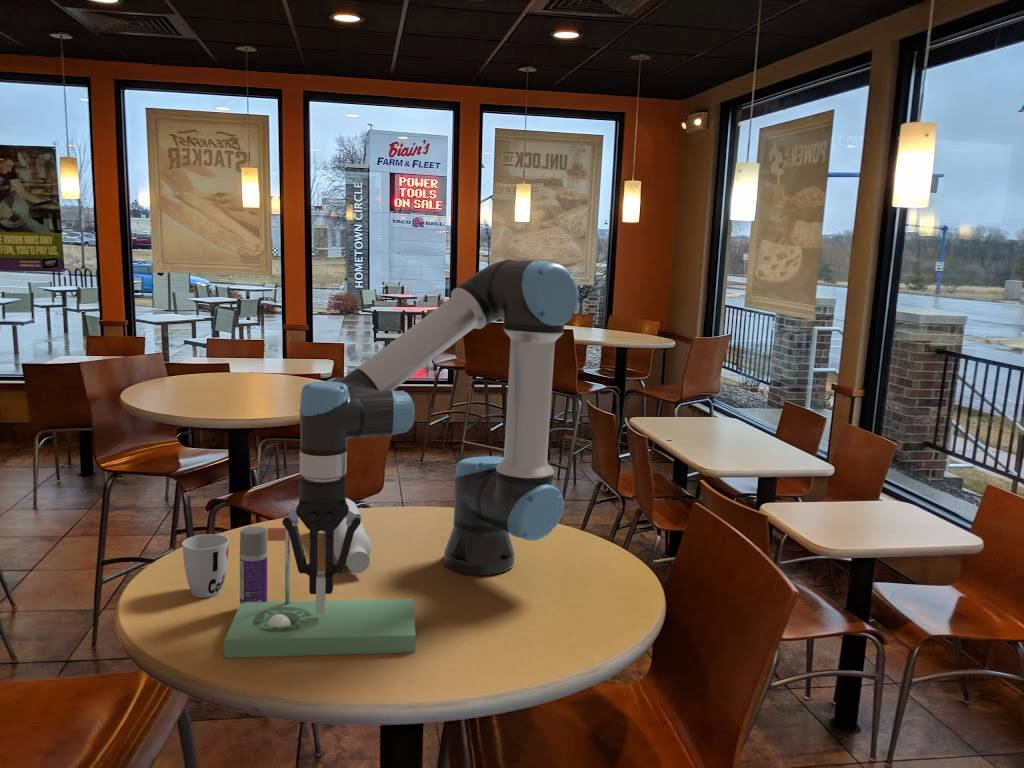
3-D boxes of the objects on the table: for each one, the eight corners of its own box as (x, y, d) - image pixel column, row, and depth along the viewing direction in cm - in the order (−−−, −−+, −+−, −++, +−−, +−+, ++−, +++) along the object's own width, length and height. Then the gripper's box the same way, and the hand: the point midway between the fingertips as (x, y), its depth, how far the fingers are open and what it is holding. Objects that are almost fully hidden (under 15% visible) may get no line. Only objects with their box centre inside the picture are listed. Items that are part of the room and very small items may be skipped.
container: (272, 607, 144) (272, 528, 142) (256, 617, 140) (256, 536, 137) (250, 602, 146) (250, 524, 143) (234, 612, 141) (233, 532, 139)
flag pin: (289, 602, 140) (290, 526, 137) (289, 604, 139) (289, 527, 137) (267, 602, 139) (267, 526, 137) (266, 604, 138) (267, 528, 136)
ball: (290, 611, 136) (266, 616, 135) (287, 612, 132) (263, 617, 131) (293, 635, 135) (269, 640, 134) (290, 637, 131) (265, 641, 130)
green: (412, 614, 144) (413, 599, 143) (415, 652, 130) (415, 635, 130) (240, 618, 139) (240, 602, 139) (224, 657, 125) (224, 640, 125)
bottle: (309, 518, 184) (326, 570, 156) (332, 486, 184) (352, 532, 157) (342, 536, 187) (363, 591, 160) (364, 505, 188) (389, 553, 160)
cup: (213, 603, 144) (213, 551, 143) (173, 597, 146) (172, 546, 145) (237, 586, 152) (237, 536, 151) (199, 581, 154) (198, 532, 152)
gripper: (363, 470, 135) (360, 601, 138) (285, 469, 133) (283, 602, 136) (362, 482, 128) (359, 620, 131) (279, 481, 126) (278, 622, 129)
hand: (320, 611), depth 134 cm, fingers closed
